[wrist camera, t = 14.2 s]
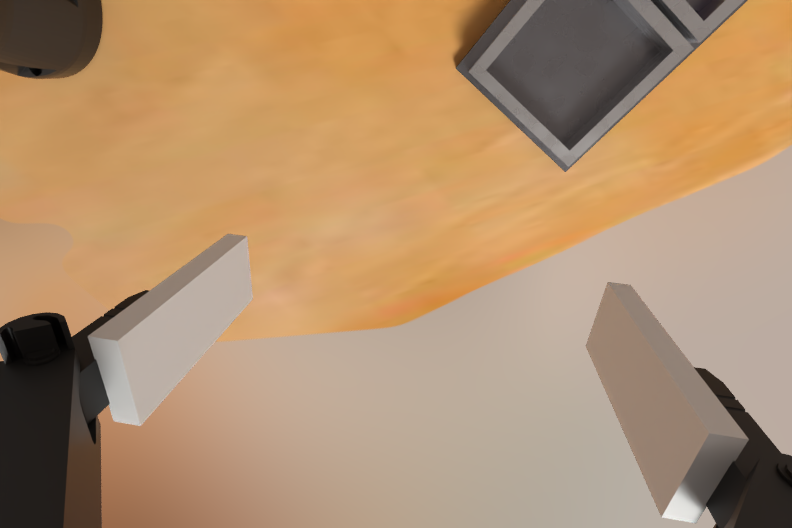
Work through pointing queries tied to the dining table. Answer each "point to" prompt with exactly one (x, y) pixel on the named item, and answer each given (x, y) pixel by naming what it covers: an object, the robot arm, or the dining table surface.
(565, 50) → the grey divided tray
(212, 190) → the dining table surface
